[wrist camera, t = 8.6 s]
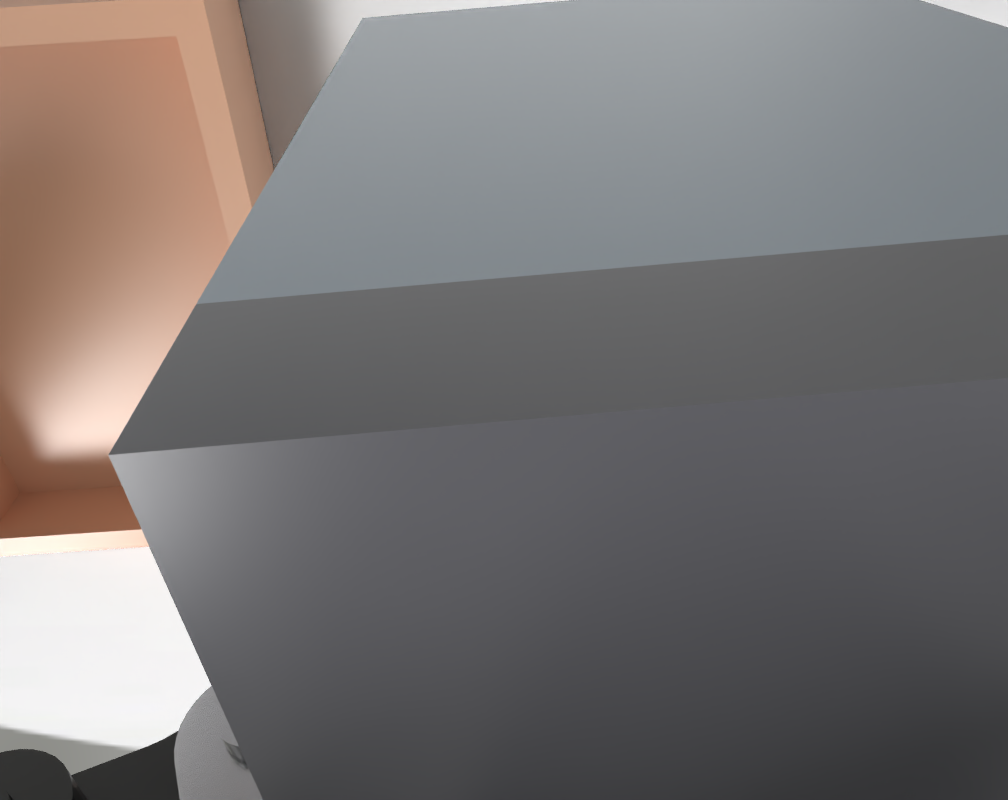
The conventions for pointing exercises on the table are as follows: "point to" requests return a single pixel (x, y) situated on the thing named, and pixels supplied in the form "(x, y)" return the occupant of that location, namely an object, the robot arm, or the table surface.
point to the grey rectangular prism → (609, 413)
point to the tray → (107, 235)
